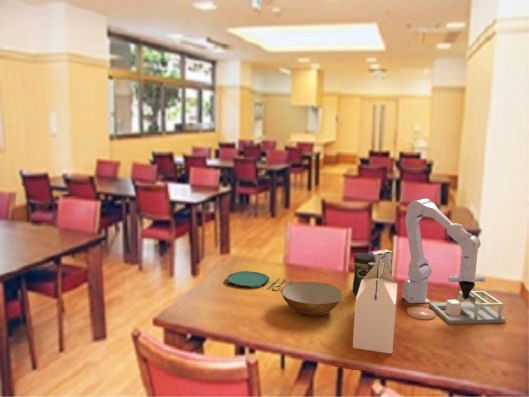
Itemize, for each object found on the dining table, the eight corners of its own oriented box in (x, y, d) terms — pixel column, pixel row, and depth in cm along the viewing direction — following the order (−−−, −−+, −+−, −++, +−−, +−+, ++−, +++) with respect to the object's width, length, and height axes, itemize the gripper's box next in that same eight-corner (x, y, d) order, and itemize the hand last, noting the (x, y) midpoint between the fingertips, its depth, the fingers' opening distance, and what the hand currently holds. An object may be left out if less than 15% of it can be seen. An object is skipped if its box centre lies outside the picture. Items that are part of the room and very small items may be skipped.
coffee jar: (375, 292, 219) (377, 252, 216) (372, 298, 212) (375, 257, 209) (353, 289, 223) (355, 250, 220) (350, 295, 216) (352, 254, 212)
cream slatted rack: (475, 317, 191) (477, 299, 190) (457, 303, 205) (459, 287, 203) (501, 316, 192) (503, 299, 191) (482, 302, 206) (484, 286, 205)
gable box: (392, 354, 163) (398, 274, 158) (352, 348, 167) (357, 270, 162) (394, 327, 184) (399, 256, 179) (358, 322, 188) (363, 252, 183)
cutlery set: (237, 272, 243) (237, 268, 243) (294, 282, 232) (295, 277, 232) (219, 285, 225) (219, 280, 225) (280, 297, 214) (280, 292, 214)
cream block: (450, 316, 195) (451, 303, 194) (445, 312, 199) (446, 299, 198) (459, 316, 196) (461, 303, 195) (455, 312, 200) (456, 299, 199)
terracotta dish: (413, 320, 191) (413, 318, 191) (402, 308, 202) (402, 307, 202) (440, 319, 192) (440, 317, 192) (428, 308, 203) (428, 306, 203)
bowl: (349, 305, 204) (350, 287, 203) (331, 329, 181) (332, 308, 180) (293, 295, 214) (294, 277, 213) (270, 316, 192) (270, 296, 190)
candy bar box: (383, 281, 234) (385, 248, 232) (390, 284, 230) (393, 251, 227) (365, 285, 229) (367, 251, 226) (372, 288, 225) (375, 254, 222)
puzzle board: (449, 324, 188) (449, 320, 188) (428, 305, 206) (429, 302, 205) (505, 322, 190) (505, 319, 190) (480, 304, 208) (480, 301, 208)
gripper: (455, 269, 190) (452, 302, 192) (490, 269, 191) (487, 302, 194) (447, 264, 197) (444, 296, 199) (481, 263, 198) (477, 295, 201)
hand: (464, 298), depth 197 cm, fingers closed
